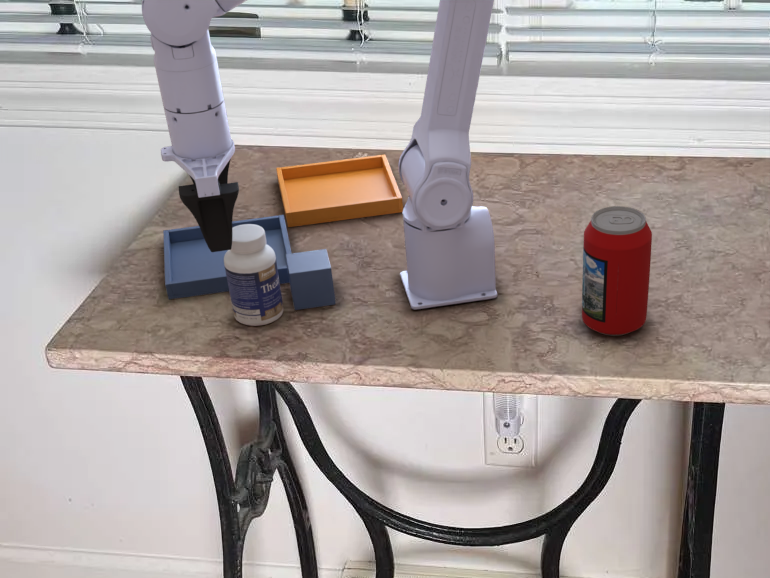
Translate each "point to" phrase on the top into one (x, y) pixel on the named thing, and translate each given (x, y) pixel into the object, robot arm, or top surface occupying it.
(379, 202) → the amber tray
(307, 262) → the blue block
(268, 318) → the pill bottle
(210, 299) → the top surface
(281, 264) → the blue tray
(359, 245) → the top surface
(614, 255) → the beverage can
